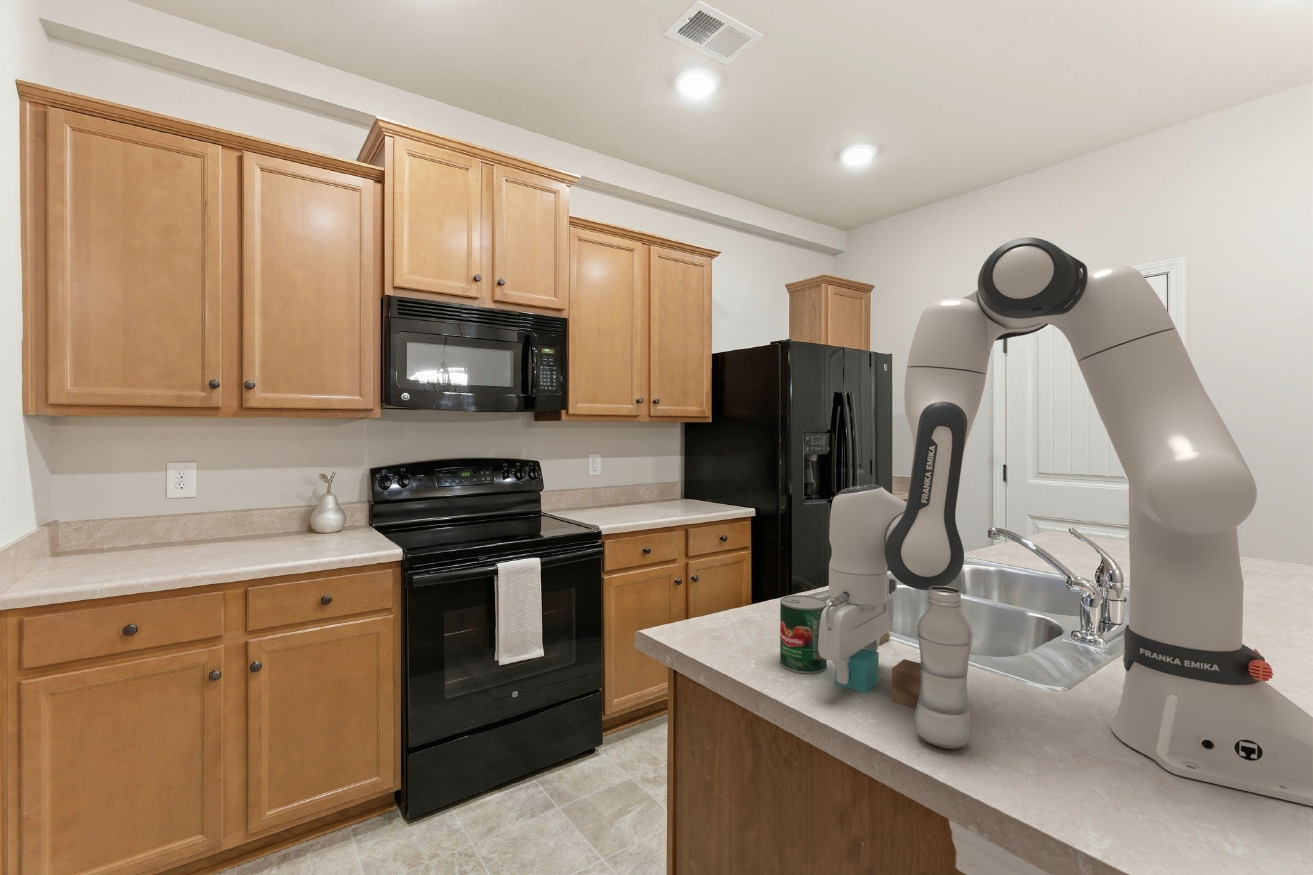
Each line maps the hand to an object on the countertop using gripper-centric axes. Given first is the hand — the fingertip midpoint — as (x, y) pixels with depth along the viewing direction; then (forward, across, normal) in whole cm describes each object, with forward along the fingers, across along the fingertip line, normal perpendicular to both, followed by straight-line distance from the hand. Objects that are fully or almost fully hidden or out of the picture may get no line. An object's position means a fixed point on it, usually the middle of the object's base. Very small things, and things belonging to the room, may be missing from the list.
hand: (856, 672), depth 97 cm
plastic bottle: (+2, -10, -16) cm, 19 cm away
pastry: (+2, +20, +7) cm, 21 cm away
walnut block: (+2, 0, -9) cm, 9 cm away
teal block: (+2, 0, 0) cm, 2 cm away
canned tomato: (+2, +1, +10) cm, 10 cm away
